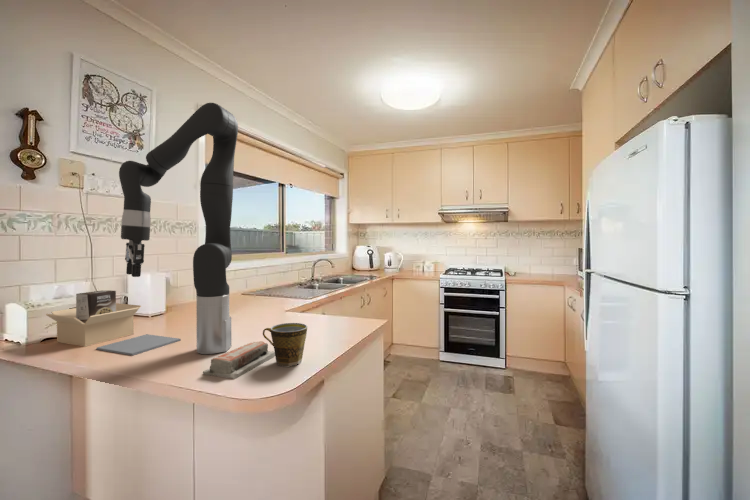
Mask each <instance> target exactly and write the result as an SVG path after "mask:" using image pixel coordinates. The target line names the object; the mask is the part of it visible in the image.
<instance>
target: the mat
mask: <svg viewBox="0 0 750 500" xmlns="http://www.w3.org/2000/svg"><path fill="white" fill-rule="evenodd" d="M180 341H181V338H178V337H172V336H171V337H170V336H164V335H157V334H156V335H155V334H148V333H147V334H146V333H145V334H142V335H138V336H135V337H130V338H127V339H124V340H123V339H122V340H120V341H117V342H113V343H110V344H105V345H101V346H98V347H97V346H96V350H98V351H103V352H109V353H115V354H121V355H127V356H135V355H139V354H142V353H145V352H149V351H152V350H155V349H157V348H162V347H165V346H167V345H171V344H173V343H174V344H175V343H177V342H180Z"/></svg>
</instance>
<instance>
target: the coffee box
mask: <svg viewBox="0 0 750 500" xmlns="http://www.w3.org/2000/svg"><path fill="white" fill-rule="evenodd" d="M116 293H117V290H97V291H96V290H95V291H88V292H81V293H80V292H79V293H76V295H75V306H76V307H75V308H76V318H77V319H79V320H80V321H82V322H83V323H86V321H87V320H88V318H89V317H90V316H94V315H99V314H105V313H110V312H116V303H117V302H116V301H117V294H116Z"/></svg>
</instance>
